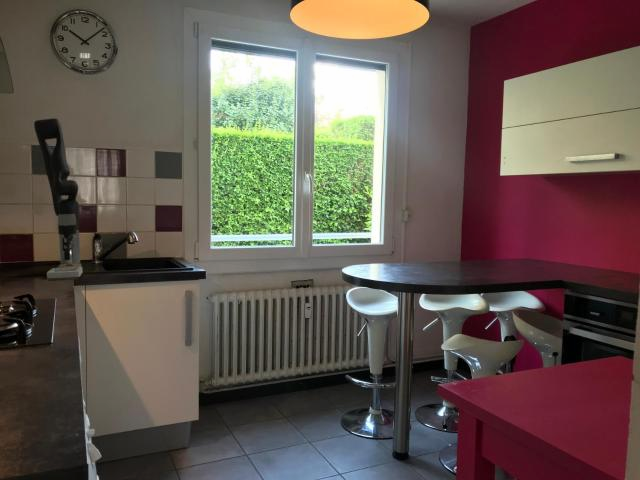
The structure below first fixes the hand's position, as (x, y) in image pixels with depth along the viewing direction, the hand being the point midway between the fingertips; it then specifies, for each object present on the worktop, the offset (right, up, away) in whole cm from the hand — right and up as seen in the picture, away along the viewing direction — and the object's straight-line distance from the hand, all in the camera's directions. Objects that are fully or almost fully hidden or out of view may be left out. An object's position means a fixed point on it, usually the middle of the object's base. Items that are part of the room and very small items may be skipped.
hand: (68, 258), depth 243 cm
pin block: (0, -7, +1) cm, 7 cm away
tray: (+4, -8, -11) cm, 14 cm away
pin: (0, -6, +1) cm, 6 cm away
